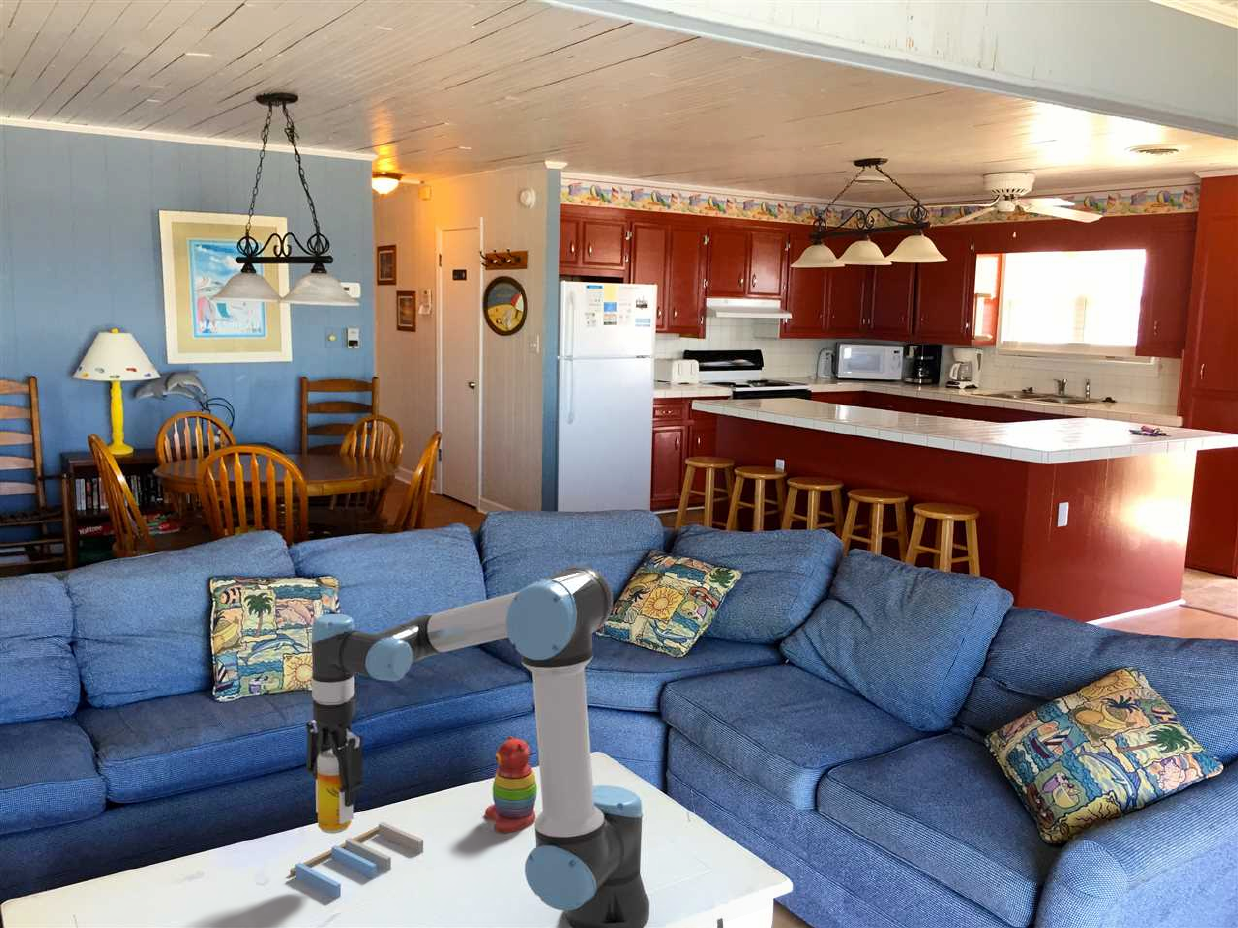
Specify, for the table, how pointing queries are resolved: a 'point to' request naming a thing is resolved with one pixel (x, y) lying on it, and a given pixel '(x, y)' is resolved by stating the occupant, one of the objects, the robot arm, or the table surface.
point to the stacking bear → (513, 788)
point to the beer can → (329, 793)
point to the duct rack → (356, 858)
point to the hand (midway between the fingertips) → (334, 814)
